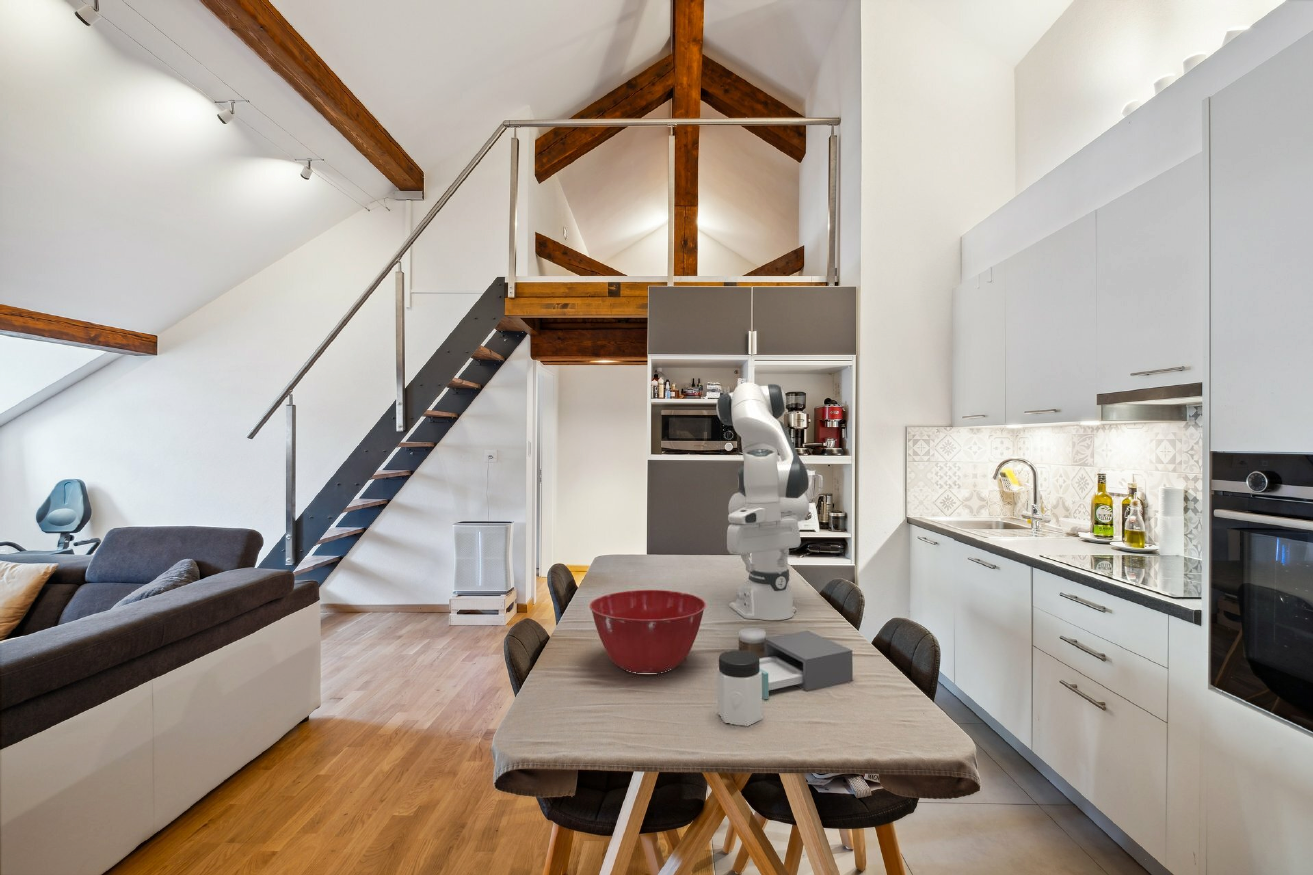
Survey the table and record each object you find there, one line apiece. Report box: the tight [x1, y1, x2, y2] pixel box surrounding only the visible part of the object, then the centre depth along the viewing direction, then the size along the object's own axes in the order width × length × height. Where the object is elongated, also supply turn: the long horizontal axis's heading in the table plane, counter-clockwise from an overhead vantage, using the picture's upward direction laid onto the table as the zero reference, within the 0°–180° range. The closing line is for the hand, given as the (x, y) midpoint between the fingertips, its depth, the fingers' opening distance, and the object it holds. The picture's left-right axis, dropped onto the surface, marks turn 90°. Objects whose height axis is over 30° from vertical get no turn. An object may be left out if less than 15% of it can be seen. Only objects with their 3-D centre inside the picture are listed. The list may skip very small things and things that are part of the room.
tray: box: [759, 656, 803, 700], centre depth 142 cm, size 16×13×5 cm
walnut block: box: [738, 638, 765, 659], centre depth 157 cm, size 5×5×5 cm
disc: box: [738, 627, 767, 643], centre depth 157 cm, size 7×7×2 cm
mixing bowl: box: [589, 589, 707, 673], centre depth 154 cm, size 28×28×15 cm
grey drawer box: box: [764, 630, 854, 692], centre depth 147 cm, size 16×13×7 cm
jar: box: [716, 649, 763, 727], centre depth 125 cm, size 9×8×12 cm
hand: (766, 568), depth 156 cm, fingers open, 8 cm apart
